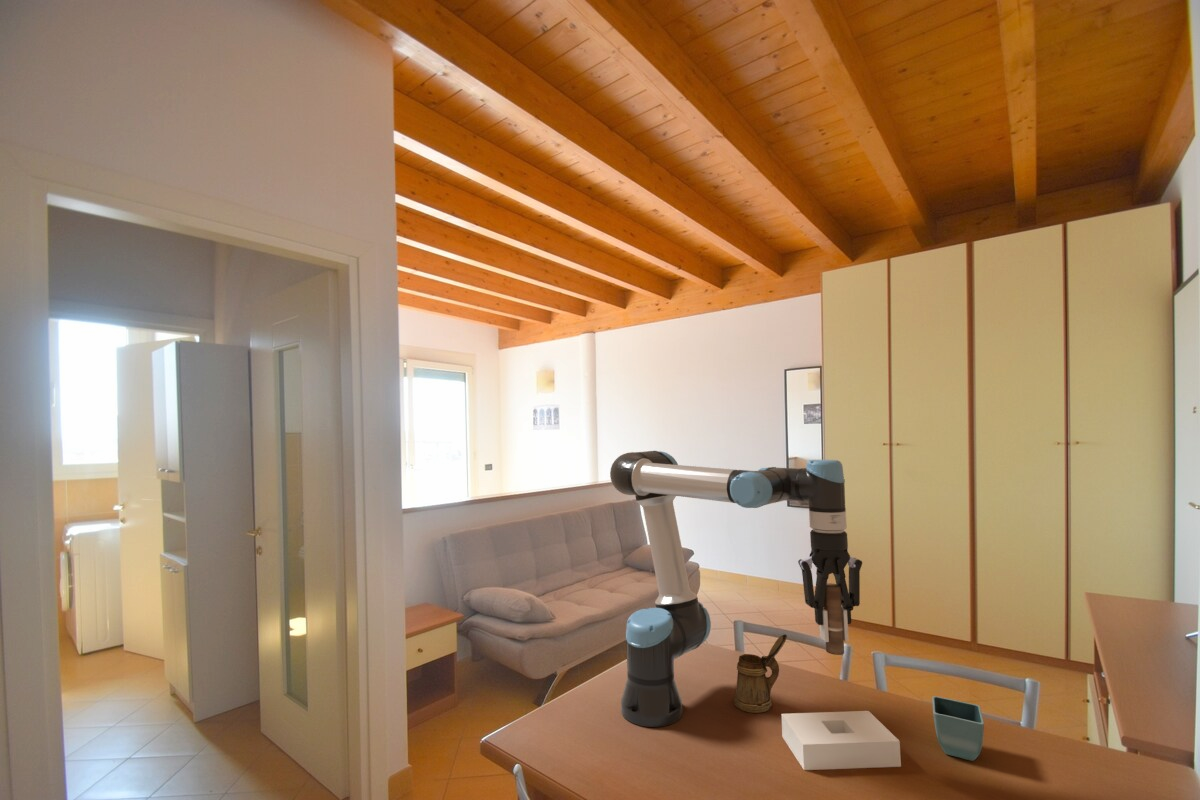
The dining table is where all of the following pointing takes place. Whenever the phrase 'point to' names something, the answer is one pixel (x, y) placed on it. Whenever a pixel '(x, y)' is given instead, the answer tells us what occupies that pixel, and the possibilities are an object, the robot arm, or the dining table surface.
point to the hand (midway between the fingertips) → (834, 639)
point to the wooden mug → (757, 679)
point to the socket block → (840, 740)
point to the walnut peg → (834, 619)
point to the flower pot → (958, 727)
